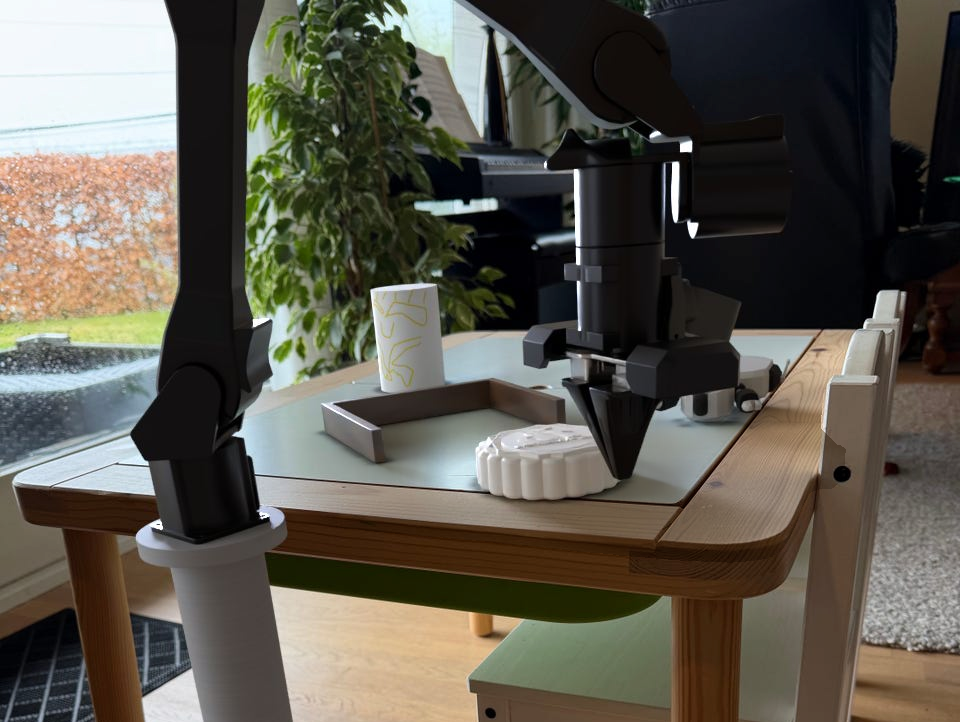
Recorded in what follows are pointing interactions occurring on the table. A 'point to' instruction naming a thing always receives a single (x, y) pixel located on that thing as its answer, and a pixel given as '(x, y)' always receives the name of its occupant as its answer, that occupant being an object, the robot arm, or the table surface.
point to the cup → (408, 337)
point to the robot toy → (732, 392)
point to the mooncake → (542, 463)
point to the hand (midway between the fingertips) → (622, 478)
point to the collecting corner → (433, 410)
